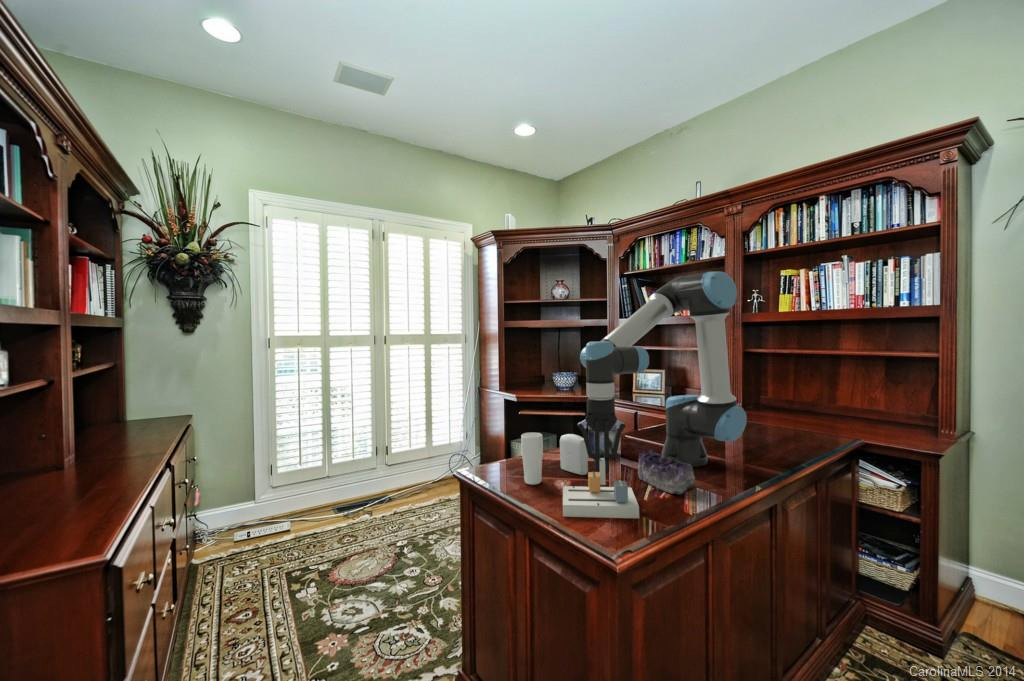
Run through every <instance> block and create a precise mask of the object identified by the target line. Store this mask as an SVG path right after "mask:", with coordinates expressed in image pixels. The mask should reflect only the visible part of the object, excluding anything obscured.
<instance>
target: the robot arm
mask: <svg viewBox="0 0 1024 681" xmlns="http://www.w3.org/2000/svg"><path fill="white" fill-rule="evenodd" d="M737 297H738V290H737V287H736V284H735V281H734V280H733V279H732V277H731V276H730V275H729V274H728V273H726V272H724V271H721V270H720V271H706V272H701V273H695V274H690V275H682V276H678V277H675V278H673V279H672V280H670V281H668V282H666V284H664V285H662V286H661V287H660V288H658V289H657V290H656V291H655V292H653V293H652V294H651V295H650V296H649V297H648V300H647V302H646V303H645V304H643V305H642V306H641V307H640V308H638V310H636V311H635V312H634V313H633V314H632V315H630V316H629V317H627V319H626V320H624V321H623V322H622V323H621V324H619V325H618V326H617V327H616V328H614V329H613V330H612V331H611V332H610V333H609V334H607V335H606V336H605V337H603V338H602V339H601V340H600V341H589V342H587V343H586V344H585V347H583V348H582V350H581V351H580V355H579V359H580V363H581V365H582V366H583V367H584V368H585V375H586V376H585V378H586V379H585V381H586V383H585V384H586V386H585V387H586V389H585V390H586V397H588V398H587V399H586V415H585V417H584V418H585V419H584V420H582V421H579V422H578V423H577V427H578V429H579V430H580V432H581V433H582V438H584V442H585V445H586V449H587V455H588V458H589V459H593V460H594V469H595V472H599V475H600V486H606V484H607V481H606V473H609V472H610V460H612V459H616V458H617V457H616V454H617V455H618V450H619V446H620V440H621V436H622V433H623V431H624V429H625V428H626V424H625V423H624V422H623V421H620V420H619V419H618V418H617V416H616V407H615V406H616V402H615V399H614V397H615V376H616V375H624V374H625V375H626V374H637V373H642V372H645V371H646V370H647V368H648V367H649V365H650V355H649V353H648V351H647V349H645V348H644V347H642V346H635V345H634V344H636V343H637V342H638V341H639V340H640V339H642V337H644V336H645V335H646V334H647V333H648V332H650V330H652V329H653V328H654V327H655V326H657V325H658V324H659V323H661V321H662V320H663V319H669V318H670V317H672V316H673V315H674V314H676V313H679V312H684V311H689V312H688V313H689V318H691V319H692V320H694V322H695V323H694V324H695V332H696V345H697V346H696V347H697V355H698V359H697V360H698V365H699V366H698V368H699V378H700V379H699V380H700V381H699V382H700V390H701V393H700V395H699V394H686V395H685V394H684V395H683V394H682V395H673V396H672V395H671V396H669V397H668V398H666V400H665V422H666V423H665V427H666V429H665V430H666V431H665V432H666V438H665V441H664V444H663V447H662V450H661V458H664V457H666V458H670V459H672V460H674V461H680V462H681V463H688V464H690V465H691V466H692V467H693V468H694V467H695V468H697V467H703V466H705V465H707V464H708V459H709V458H708V454H707V450H706V447H705V445H704V442H703V438H704V437H705V438H709V439H712V440H716V441H719V442H727V443H728V442H729V443H730V442H735V441H736V440H738V439H739V438H741V436H742V434H743V432H744V431H745V428H746V426H747V419H748V418H747V412H746V411H745V410H744V408H743V407H741V406H739V405H738V402H737V397H736V396H735V395H733V394H732V392H731V383H730V382H731V381H730V369H729V356H728V355H729V354H728V345H727V344H728V342H727V334H726V333H727V332H726V331H727V330H726V329H727V328H726V320H725V319H726V318H727V316H729V315H730V308H731V307H733V306H734V305H735V304H736V300H737ZM633 345H634V346H633ZM588 426H590V427H591V429H592V430H593V431H594V453H592V450H591V447H590V443H589V439H588V431H587V430H586V429H588ZM613 426H615V427H616V432H615V436H614V440H613V445H612V449H611V453H609V431H610V430H611V428H612V427H613ZM599 432H603V436H604V457H600V451H599ZM702 437H703V438H702Z"/></svg>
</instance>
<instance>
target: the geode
mask: <svg viewBox="0 0 1024 681" xmlns="http://www.w3.org/2000/svg"><path fill="white" fill-rule="evenodd" d="M637 476H638V480H640V481H642V482H644V483H647V484H648V485H651V486H652V487H654V488H656V489H657V490H661V491H664V492H666V493H669V494H673V495H674V494H675V495H677V496H682V495H683V494H684V493H686V491H687V490H690V489H692V488H693V487H695V486H696V476H695V475H694V467H692V466H691V465H690V464H688V463H681V462H680V461H674V460H672V459H670V458H666V457H664V458H662V455H661V454H660V453H657V452H656V451H655V449H653V448H651V449H650V450H649V451H647V450H646V449H645V450H643V451H642V453H641V452H639V453H638V465H637Z"/></svg>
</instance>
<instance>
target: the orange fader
mask: <svg viewBox="0 0 1024 681" xmlns="http://www.w3.org/2000/svg"><path fill="white" fill-rule="evenodd" d="M587 477H588V478H587V479H588V480H587V481H588V484H587V485H588V486H587V487H589V492H600V487H601V485H600V475H599V472H596V471H588V472H587Z"/></svg>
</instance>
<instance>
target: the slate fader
mask: <svg viewBox="0 0 1024 681" xmlns="http://www.w3.org/2000/svg"><path fill="white" fill-rule="evenodd" d="M613 487H614V497H615V500H616V502H628V487H629V486H628V483H627V481H626V480H621V479H618V480H613Z"/></svg>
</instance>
